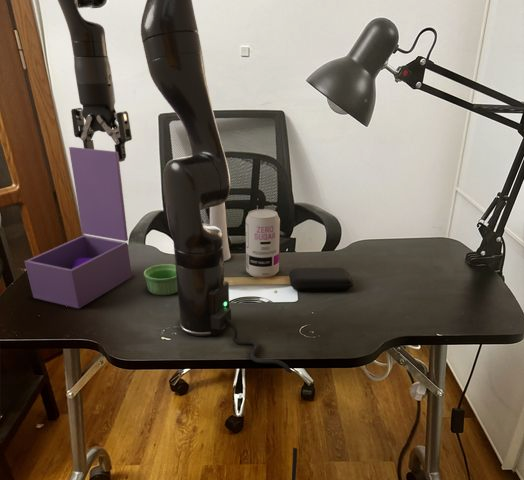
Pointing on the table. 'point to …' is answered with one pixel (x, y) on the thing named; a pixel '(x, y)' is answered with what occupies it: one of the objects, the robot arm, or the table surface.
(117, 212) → the lid
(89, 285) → the file box
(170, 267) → the ramekin
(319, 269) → the carrying case
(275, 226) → the supplement can
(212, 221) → the cosmetic bottle
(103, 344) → the table surface
